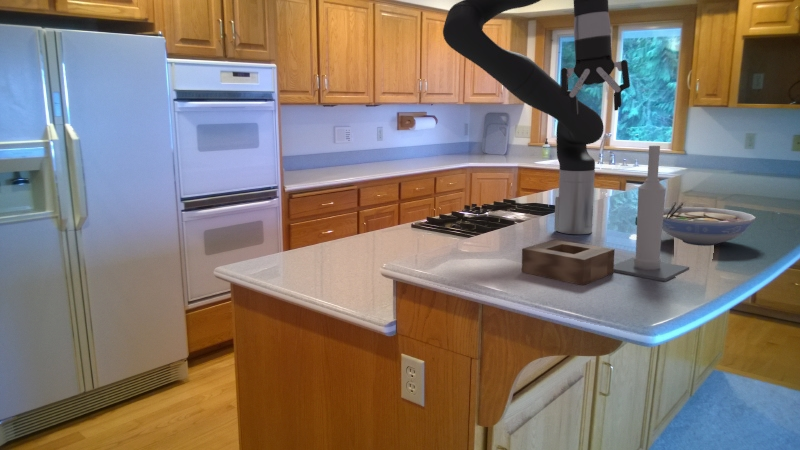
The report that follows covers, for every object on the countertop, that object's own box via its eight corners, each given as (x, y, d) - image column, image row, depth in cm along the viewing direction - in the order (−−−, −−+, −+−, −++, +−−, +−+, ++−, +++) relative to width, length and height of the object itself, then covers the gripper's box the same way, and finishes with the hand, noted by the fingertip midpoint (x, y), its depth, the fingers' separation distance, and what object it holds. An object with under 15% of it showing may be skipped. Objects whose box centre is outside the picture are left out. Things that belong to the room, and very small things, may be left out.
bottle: (663, 270, 118) (671, 146, 113) (636, 269, 119) (643, 146, 114) (657, 264, 123) (665, 145, 118) (631, 263, 124) (638, 145, 119)
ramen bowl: (751, 258, 129) (755, 222, 127) (641, 248, 140) (643, 214, 139) (754, 238, 149) (757, 206, 148) (658, 230, 161) (660, 201, 160)
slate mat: (606, 270, 121) (606, 267, 121) (632, 260, 129) (633, 257, 129) (664, 281, 112) (665, 278, 112) (689, 269, 120) (689, 266, 120)
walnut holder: (521, 272, 121) (522, 248, 120) (553, 261, 129) (554, 239, 128) (583, 285, 111) (584, 259, 110) (613, 273, 119) (614, 249, 118)
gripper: (556, 40, 126) (560, 116, 129) (626, 30, 120) (629, 109, 123) (561, 42, 132) (565, 114, 135) (628, 32, 126) (631, 107, 129)
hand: (596, 112), depth 129 cm, fingers open, 8 cm apart
